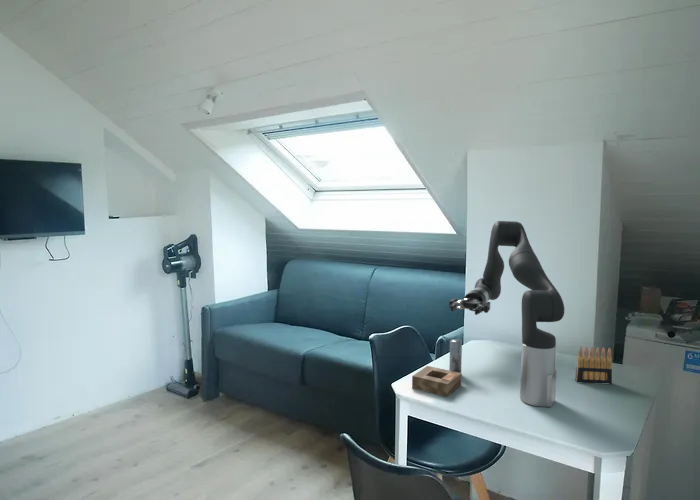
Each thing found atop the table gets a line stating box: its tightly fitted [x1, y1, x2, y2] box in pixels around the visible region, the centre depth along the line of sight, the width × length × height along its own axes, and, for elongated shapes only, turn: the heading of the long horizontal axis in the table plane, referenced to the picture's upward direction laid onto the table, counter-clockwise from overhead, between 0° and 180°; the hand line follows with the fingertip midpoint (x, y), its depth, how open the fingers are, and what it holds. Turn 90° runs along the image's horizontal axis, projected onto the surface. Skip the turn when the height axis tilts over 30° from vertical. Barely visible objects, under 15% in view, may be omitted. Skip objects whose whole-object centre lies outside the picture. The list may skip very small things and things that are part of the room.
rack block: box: [411, 365, 462, 398], centre depth 149 cm, size 12×11×4 cm
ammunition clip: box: [574, 346, 613, 385], centre depth 152 cm, size 11×2×12 cm, turn 82°
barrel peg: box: [448, 338, 463, 374], centre depth 159 cm, size 4×4×12 cm
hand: (464, 310), depth 166 cm, fingers open, 8 cm apart
